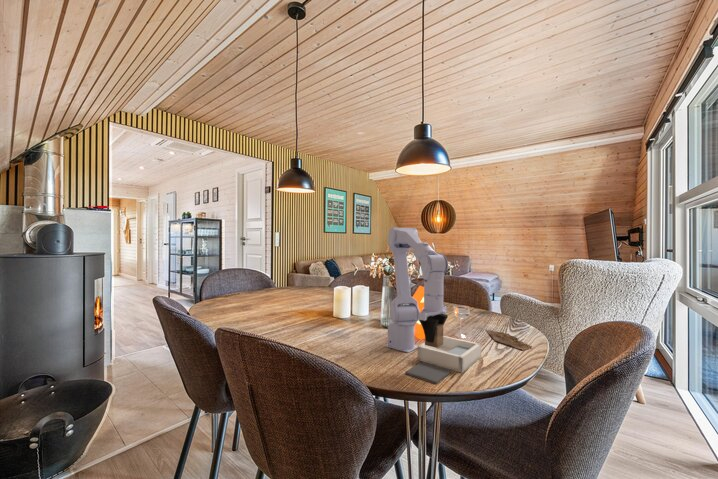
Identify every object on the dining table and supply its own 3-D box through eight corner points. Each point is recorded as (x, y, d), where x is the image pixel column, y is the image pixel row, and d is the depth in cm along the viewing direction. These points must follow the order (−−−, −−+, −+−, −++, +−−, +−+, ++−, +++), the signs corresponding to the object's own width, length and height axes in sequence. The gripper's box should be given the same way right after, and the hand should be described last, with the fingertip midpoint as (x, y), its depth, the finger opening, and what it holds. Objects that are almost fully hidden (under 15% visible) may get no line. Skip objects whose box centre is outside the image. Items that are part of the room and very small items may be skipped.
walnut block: (424, 344, 95) (425, 324, 95) (431, 341, 98) (431, 322, 98) (437, 348, 92) (437, 327, 92) (443, 344, 95) (443, 324, 95)
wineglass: (449, 335, 131) (449, 306, 131) (457, 332, 136) (458, 304, 136) (465, 339, 126) (465, 309, 126) (472, 335, 131) (473, 306, 131)
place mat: (405, 373, 93) (405, 371, 93) (421, 363, 101) (421, 361, 101) (436, 384, 87) (436, 381, 87) (451, 372, 95) (451, 370, 95)
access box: (417, 360, 104) (417, 346, 104) (439, 347, 117) (440, 334, 117) (462, 372, 95) (462, 357, 95) (481, 357, 107) (481, 343, 107)
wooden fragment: (538, 351, 114) (538, 348, 114) (509, 352, 113) (509, 349, 113) (501, 330, 140) (501, 328, 140) (477, 331, 139) (477, 328, 139)
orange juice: (419, 339, 126) (419, 288, 126) (410, 332, 134) (410, 285, 134) (437, 338, 127) (437, 288, 127) (427, 331, 136) (427, 285, 136)
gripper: (435, 299, 87) (434, 349, 87) (456, 293, 98) (455, 336, 98) (412, 296, 91) (412, 343, 91) (435, 290, 103) (434, 332, 103)
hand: (433, 339), depth 95 cm, fingers closed on walnut block, 4 cm apart
